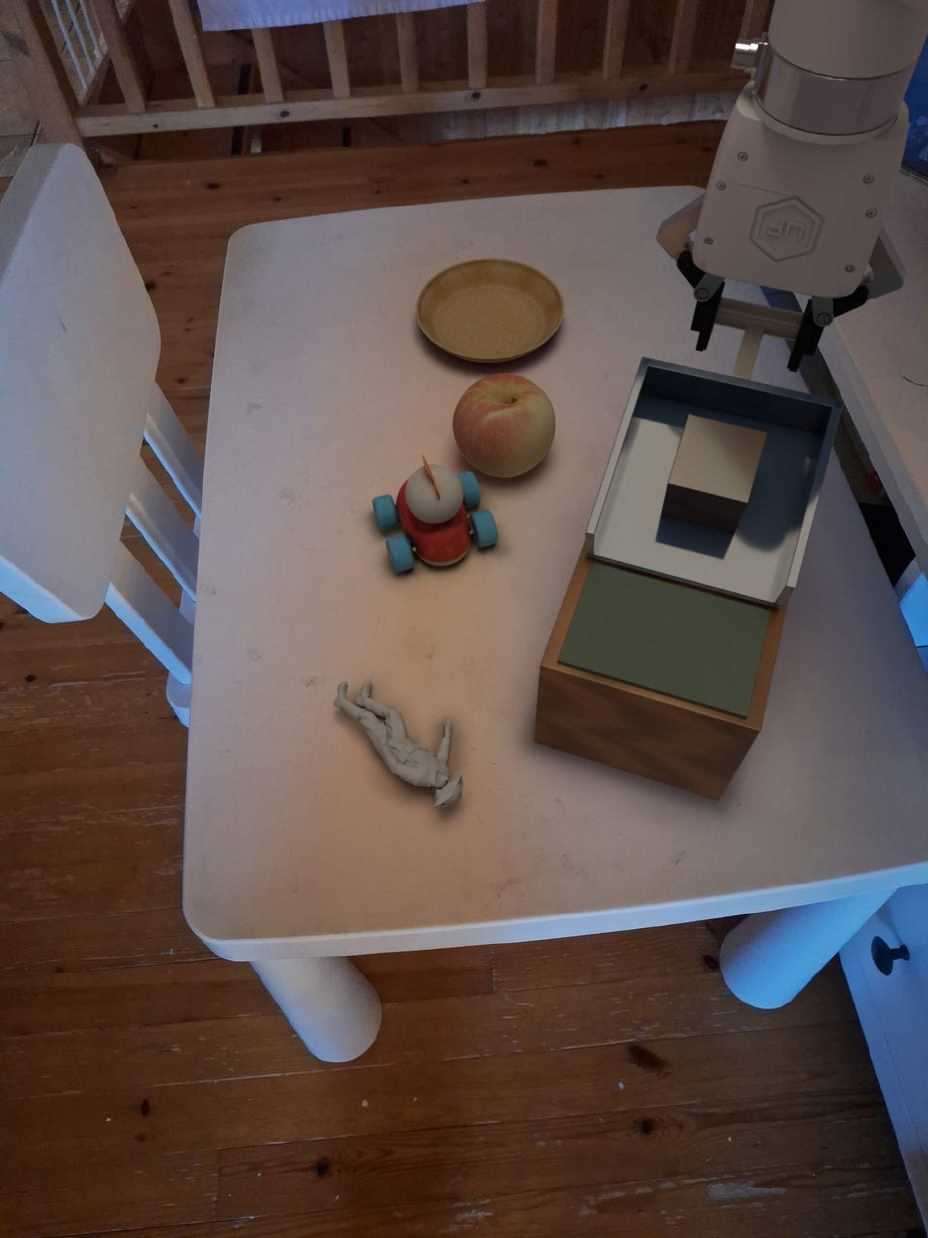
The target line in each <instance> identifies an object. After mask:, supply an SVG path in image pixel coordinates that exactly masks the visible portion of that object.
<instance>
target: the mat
mask: <svg viewBox="0 0 928 1238" xmlns="http://www.w3.org/2000/svg"><path fill="white" fill-rule="evenodd" d="M769 617H770V611H768V610H765V609H761V608H757V607H754V606H750V605H746V604H743V603H739V602H735V601H732V600H728V599H724V598H721V597H717V596H713V595H710V594H706V593H702V592H699V591H695V590H691V589H688V588H684V587H680V586H677V585H673V584H669V583H666V582H662V581H658V580H655V579H651V578H647V577H644V576H640V575H636V574H633V573H629V572H625V571H622V570H618V569H614V568H611V567H607V566H603V565H600V564H596V563H592V564H591V566H590V569H589V572H588V575H587V578H586V581H585V583H584V586H583V589H582V592H581V595H580V598H579V601H578V603H577V606H576V609H575V612H574V615H573V618H572V620H571V623H570V626H569V629H568V632H567V635H566V637H565V640H564V643H563V646H562V649H561V652H560V654H559V657H558V661H557V663H559V664H562V665H566V666H569V667H573V668H576V669H579V670H583V671H586V672H589V673H593V674H596V675H599V676H603V677H606V678H609V679H613V680H616V681H619V682H623V683H626V684H630V685H633V686H636V687H640V688H643V689H646V690H650V691H653V692H656V693H660V694H663V695H666V696H670V697H673V698H676V699H680V700H683V701H687V702H690V703H693V704H697V705H700V706H703V707H707V708H710V709H713V710H717V711H720V712H723V713H727V714H730V715H733V716H737V717H740V718H744V719H746V718H747V716H748V711H749V707H750V702H751V698H752V693H753V689H754V684H755V680H756V675H757V671H758V666H759V662H760V657H761V653H762V648H763V644H764V639H765V635H766V630H767V626H768V621H769Z"/></svg>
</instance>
